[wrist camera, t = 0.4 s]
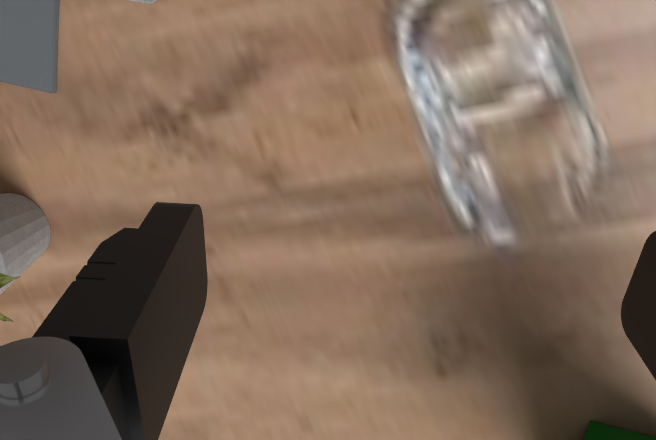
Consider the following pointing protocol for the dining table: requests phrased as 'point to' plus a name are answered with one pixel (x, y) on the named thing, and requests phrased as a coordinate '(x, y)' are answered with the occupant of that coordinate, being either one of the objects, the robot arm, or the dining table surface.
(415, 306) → the dining table surface
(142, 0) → the coffee box
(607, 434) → the milk carton
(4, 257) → the house plant
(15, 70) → the rubber mat
